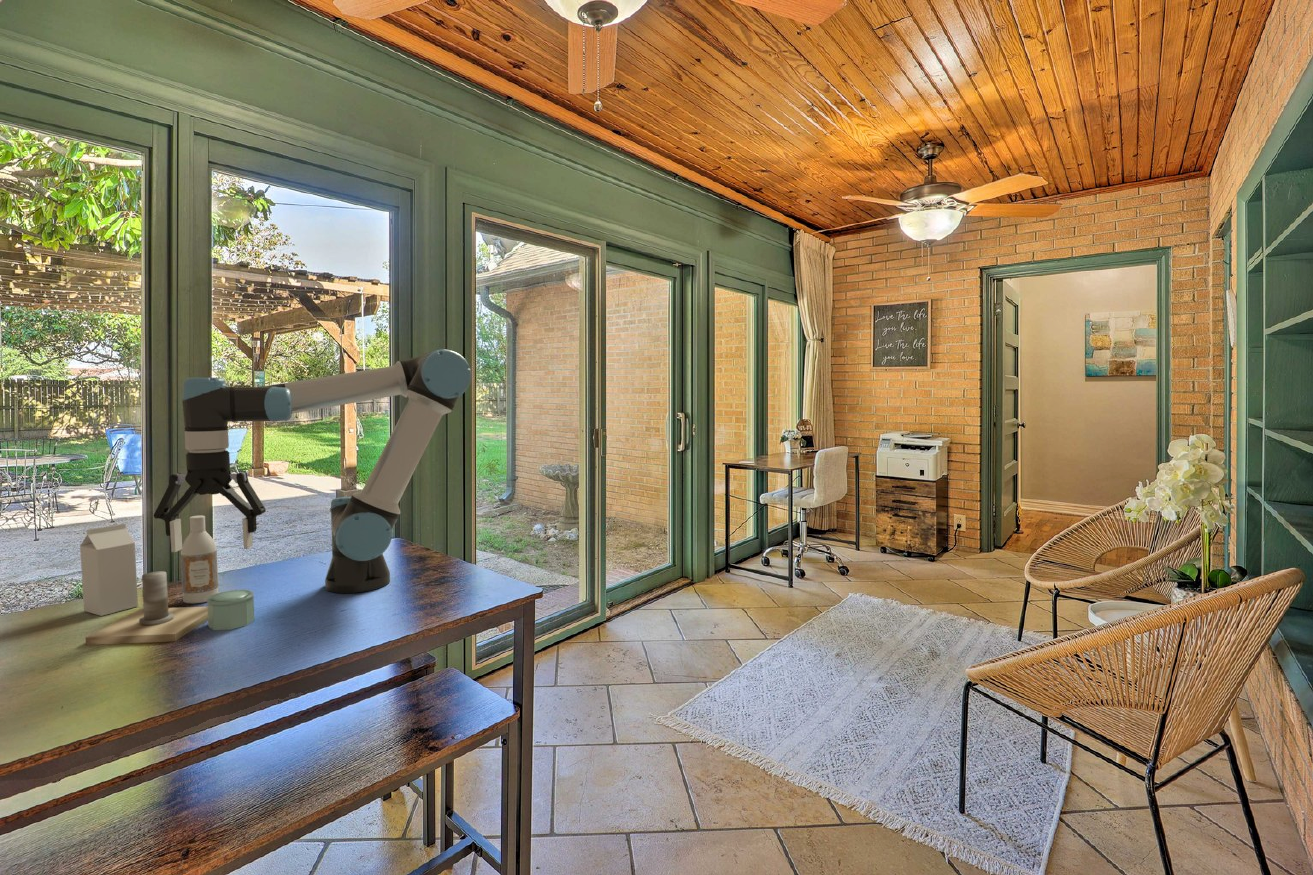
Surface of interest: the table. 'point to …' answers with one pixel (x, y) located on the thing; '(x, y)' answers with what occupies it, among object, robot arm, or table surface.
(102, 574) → the milk carton
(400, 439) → the robot arm
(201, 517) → the bath foam
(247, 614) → the cap
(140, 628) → the stud board
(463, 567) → the table surface
